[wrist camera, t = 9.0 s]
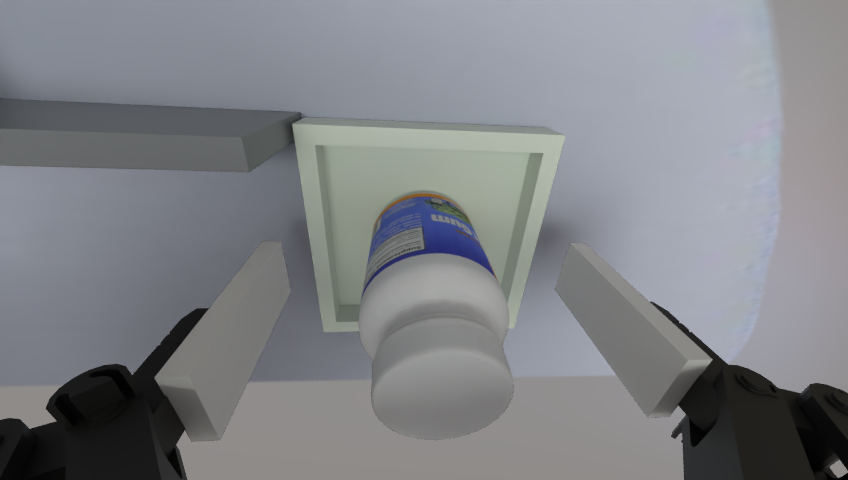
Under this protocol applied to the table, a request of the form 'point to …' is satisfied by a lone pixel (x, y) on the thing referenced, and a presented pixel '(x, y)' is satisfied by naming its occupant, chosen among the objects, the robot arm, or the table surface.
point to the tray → (419, 172)
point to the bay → (140, 136)
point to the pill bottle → (433, 322)
